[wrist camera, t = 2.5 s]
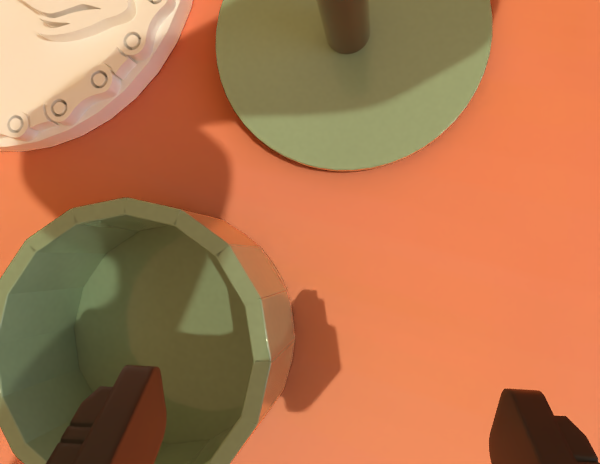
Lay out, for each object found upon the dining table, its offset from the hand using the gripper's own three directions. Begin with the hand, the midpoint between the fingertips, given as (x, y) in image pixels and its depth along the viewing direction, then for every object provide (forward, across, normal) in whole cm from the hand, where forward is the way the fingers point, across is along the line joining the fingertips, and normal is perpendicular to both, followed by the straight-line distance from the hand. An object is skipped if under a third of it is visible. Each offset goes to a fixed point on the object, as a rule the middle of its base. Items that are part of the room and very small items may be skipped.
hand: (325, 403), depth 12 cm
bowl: (+14, +8, +9) cm, 18 cm away
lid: (+20, -1, -6) cm, 21 cm away
